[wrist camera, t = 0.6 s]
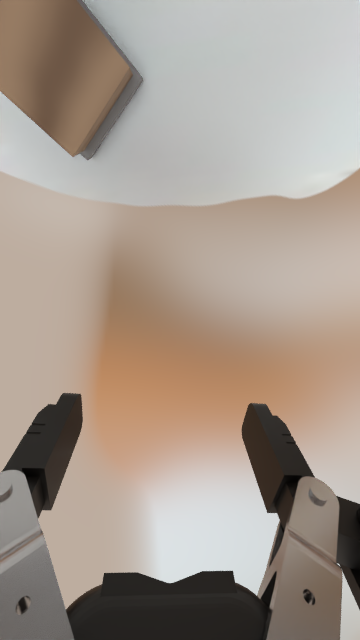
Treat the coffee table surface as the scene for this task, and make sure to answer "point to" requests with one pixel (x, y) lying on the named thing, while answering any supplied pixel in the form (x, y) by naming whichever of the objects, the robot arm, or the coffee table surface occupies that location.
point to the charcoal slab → (121, 100)
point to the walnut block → (59, 68)
